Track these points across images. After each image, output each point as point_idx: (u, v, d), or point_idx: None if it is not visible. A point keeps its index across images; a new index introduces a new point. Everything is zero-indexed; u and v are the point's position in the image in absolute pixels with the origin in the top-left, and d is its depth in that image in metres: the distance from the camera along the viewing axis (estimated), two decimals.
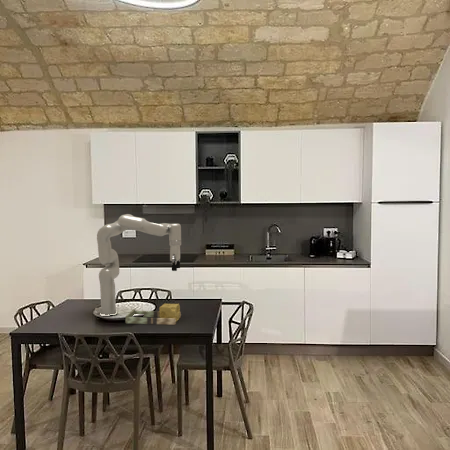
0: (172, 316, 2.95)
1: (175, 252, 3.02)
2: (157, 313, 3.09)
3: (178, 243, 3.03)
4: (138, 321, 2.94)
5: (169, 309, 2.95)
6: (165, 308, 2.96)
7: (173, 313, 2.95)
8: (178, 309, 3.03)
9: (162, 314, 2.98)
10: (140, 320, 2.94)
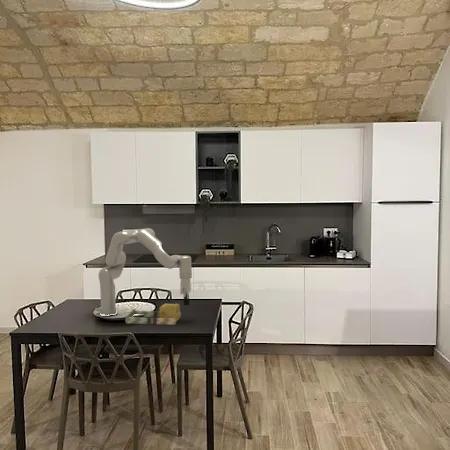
0: (172, 316, 2.95)
1: (185, 285, 2.93)
2: (157, 313, 3.09)
3: (188, 276, 2.94)
4: (138, 321, 2.94)
5: (169, 309, 2.95)
6: (165, 308, 2.95)
7: (173, 313, 2.95)
8: (178, 309, 3.03)
9: (162, 314, 2.98)
10: (140, 320, 2.94)
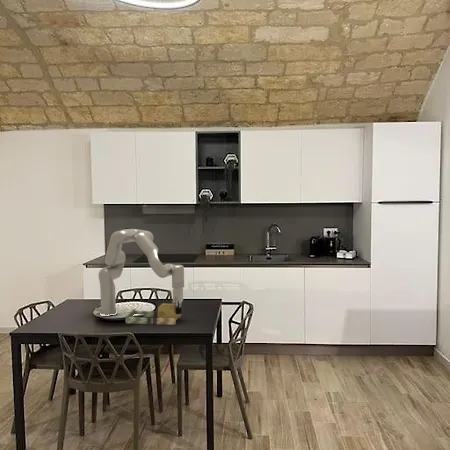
0: (171, 316, 2.95)
1: (178, 295, 2.94)
2: (157, 313, 3.09)
3: (181, 285, 2.95)
4: (138, 321, 2.94)
5: (167, 309, 2.95)
6: (163, 308, 2.96)
7: (172, 313, 2.95)
8: None
9: (160, 314, 2.98)
10: (140, 320, 2.94)
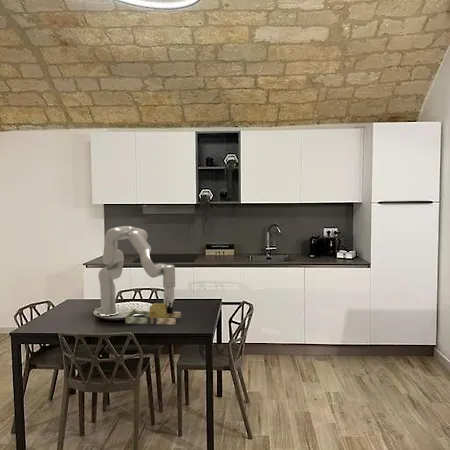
0: (162, 316, 2.96)
1: (169, 294, 2.94)
2: None
3: (172, 285, 2.96)
4: (138, 321, 2.94)
5: (159, 309, 2.96)
6: (155, 308, 2.96)
7: (163, 312, 2.95)
8: None
9: (152, 314, 2.98)
10: (140, 320, 2.94)
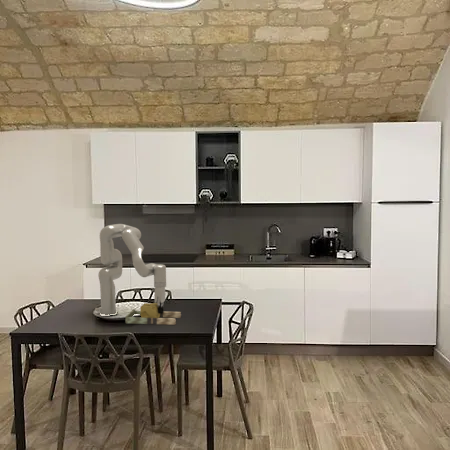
0: (153, 315, 2.96)
1: (160, 294, 2.95)
2: None
3: (163, 285, 2.97)
4: (138, 321, 2.94)
5: (150, 308, 2.96)
6: (146, 308, 2.96)
7: (154, 312, 2.96)
8: None
9: (143, 314, 2.98)
10: (140, 320, 2.94)
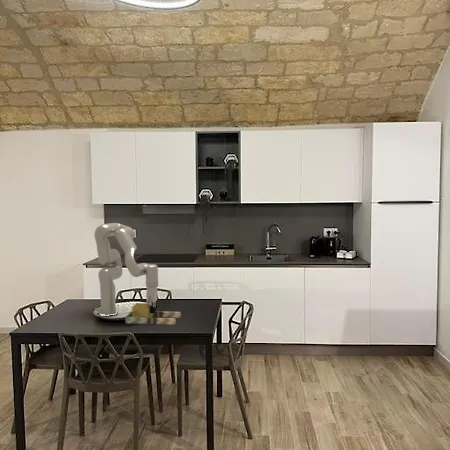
0: (145, 315, 2.97)
1: (151, 294, 2.96)
2: (157, 313, 3.09)
3: (155, 285, 2.97)
4: (138, 321, 2.94)
5: (142, 308, 2.97)
6: (138, 307, 2.97)
7: (146, 312, 2.97)
8: None
9: (135, 313, 2.99)
10: (140, 320, 2.94)
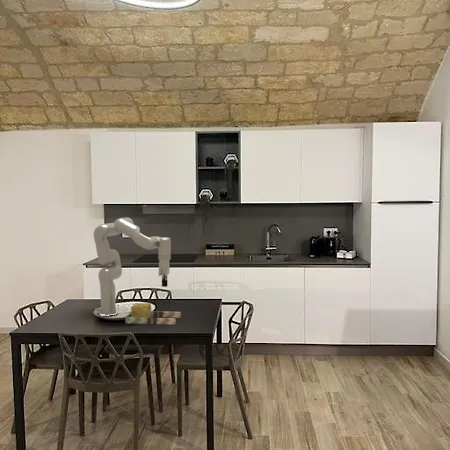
0: (144, 315, 2.97)
1: (164, 267, 2.93)
2: (157, 313, 3.09)
3: (167, 258, 2.95)
4: (138, 321, 2.94)
5: (141, 308, 2.97)
6: (137, 307, 2.97)
7: (145, 312, 2.97)
8: (149, 308, 3.05)
9: (134, 314, 2.99)
10: (140, 320, 2.94)
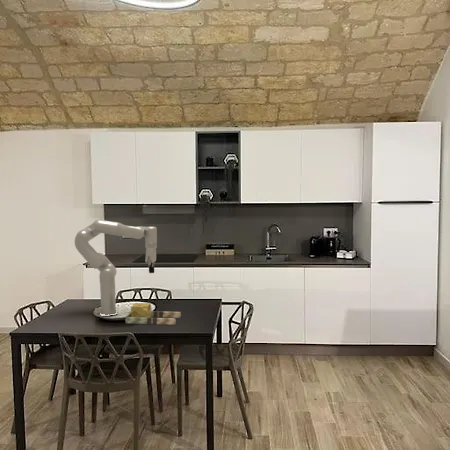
0: (144, 315, 2.97)
1: (150, 254, 3.11)
2: (157, 313, 3.09)
3: (153, 245, 3.12)
4: (138, 321, 2.94)
5: (141, 308, 2.97)
6: (137, 307, 2.97)
7: (145, 312, 2.97)
8: (149, 308, 3.05)
9: (134, 314, 2.99)
10: (140, 320, 2.94)
